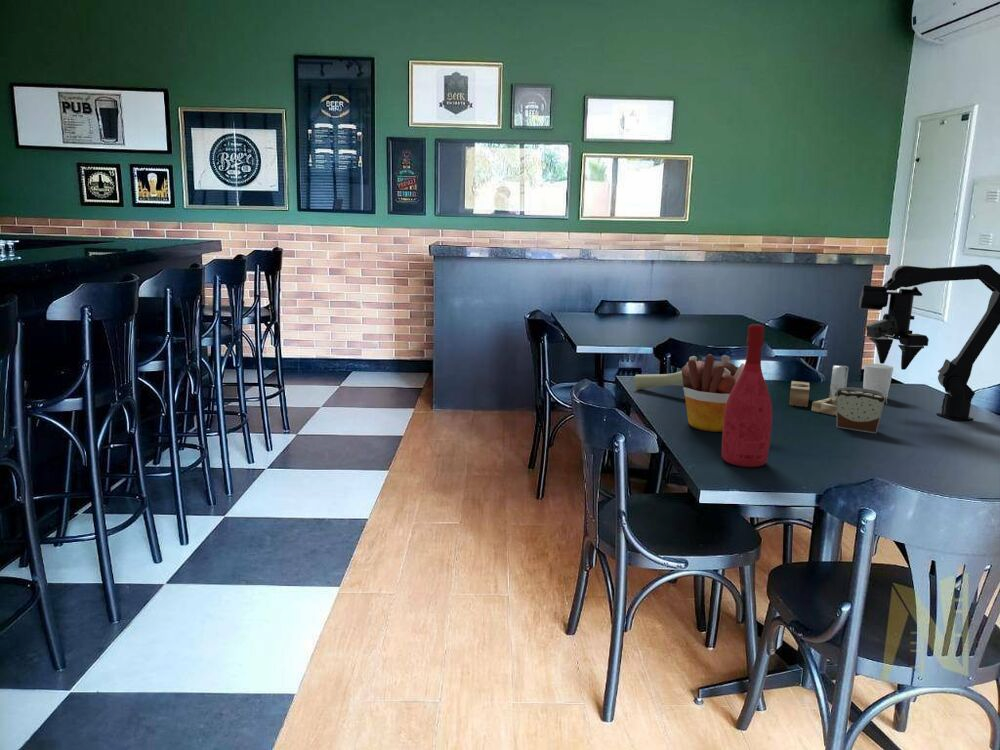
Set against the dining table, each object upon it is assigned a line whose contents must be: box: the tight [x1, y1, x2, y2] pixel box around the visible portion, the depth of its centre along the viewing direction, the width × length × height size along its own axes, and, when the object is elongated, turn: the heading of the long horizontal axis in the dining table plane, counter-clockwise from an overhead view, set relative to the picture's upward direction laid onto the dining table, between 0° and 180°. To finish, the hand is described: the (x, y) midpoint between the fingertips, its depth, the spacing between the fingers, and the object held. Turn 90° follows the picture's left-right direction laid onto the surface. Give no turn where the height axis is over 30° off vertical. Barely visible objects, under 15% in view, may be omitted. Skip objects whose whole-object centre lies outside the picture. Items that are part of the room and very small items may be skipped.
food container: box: [834, 387, 888, 434], centre depth 189 cm, size 12×6×10 cm, turn 56°
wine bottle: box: [721, 323, 773, 468], centre depth 156 cm, size 10×10×30 cm
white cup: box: [862, 363, 894, 398], centre depth 226 cm, size 8×8×10 cm
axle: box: [828, 364, 849, 405], centre depth 206 cm, size 4×4×13 cm
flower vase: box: [633, 364, 739, 391], centre depth 218 cm, size 12×12×35 cm
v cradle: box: [811, 397, 837, 417], centre depth 207 cm, size 8×14×2 cm, turn 174°
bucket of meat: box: [681, 353, 745, 433], centre depth 185 cm, size 20×16×20 cm
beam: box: [788, 380, 811, 408], centre depth 218 cm, size 12×5×5 cm, turn 158°
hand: (892, 366), depth 207 cm, fingers open, 9 cm apart
